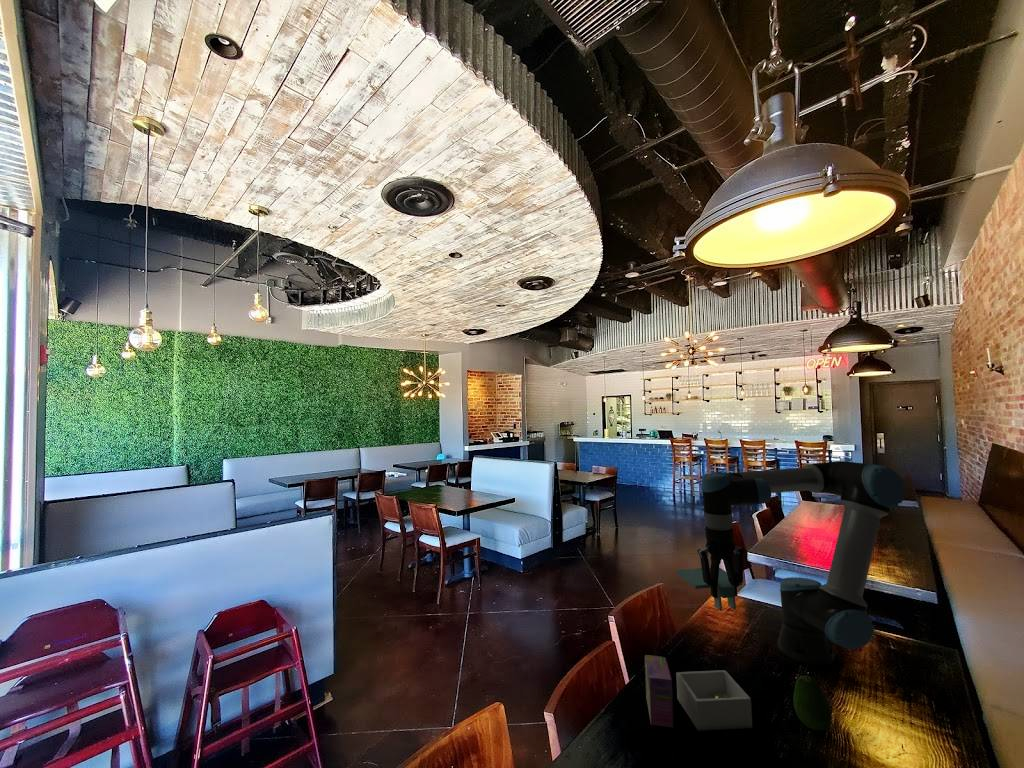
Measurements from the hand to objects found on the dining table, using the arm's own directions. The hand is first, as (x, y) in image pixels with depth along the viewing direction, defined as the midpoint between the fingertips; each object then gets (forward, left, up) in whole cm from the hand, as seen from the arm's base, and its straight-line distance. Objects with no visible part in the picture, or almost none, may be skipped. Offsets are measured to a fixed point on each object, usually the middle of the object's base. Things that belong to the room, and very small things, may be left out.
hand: (725, 607), depth 124 cm
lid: (0, -6, +4) cm, 7 cm away
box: (+24, +9, -22) cm, 34 cm away
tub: (+10, +10, -22) cm, 26 cm away
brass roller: (+7, +8, -21) cm, 24 cm away
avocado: (-12, +17, -22) cm, 30 cm away
